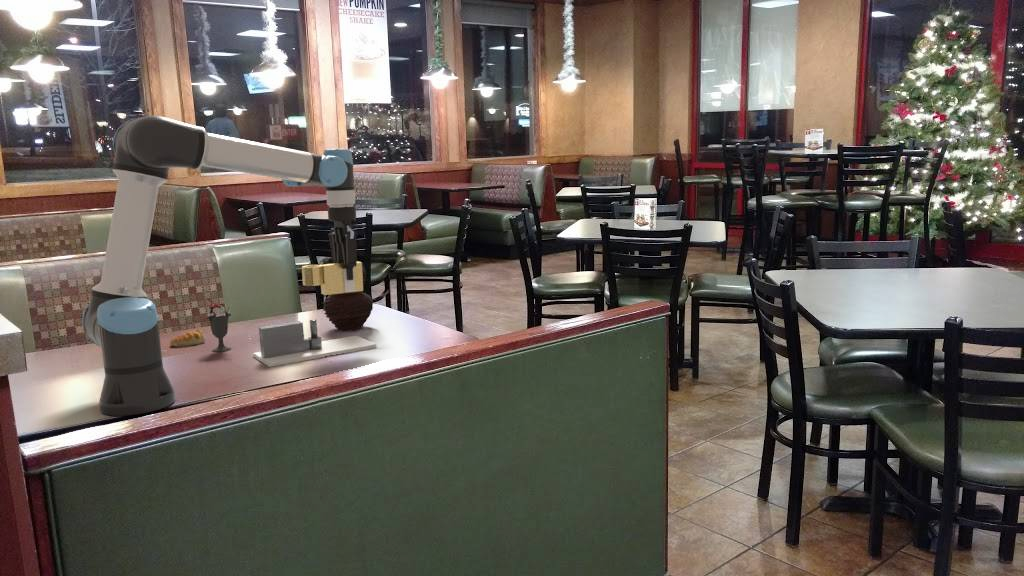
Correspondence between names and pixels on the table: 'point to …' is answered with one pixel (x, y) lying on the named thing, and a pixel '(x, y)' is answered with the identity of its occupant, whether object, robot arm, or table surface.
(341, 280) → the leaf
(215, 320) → the sundae
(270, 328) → the grey upright slab
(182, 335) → the pastry
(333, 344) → the jig board
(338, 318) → the vase
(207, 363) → the table surface
